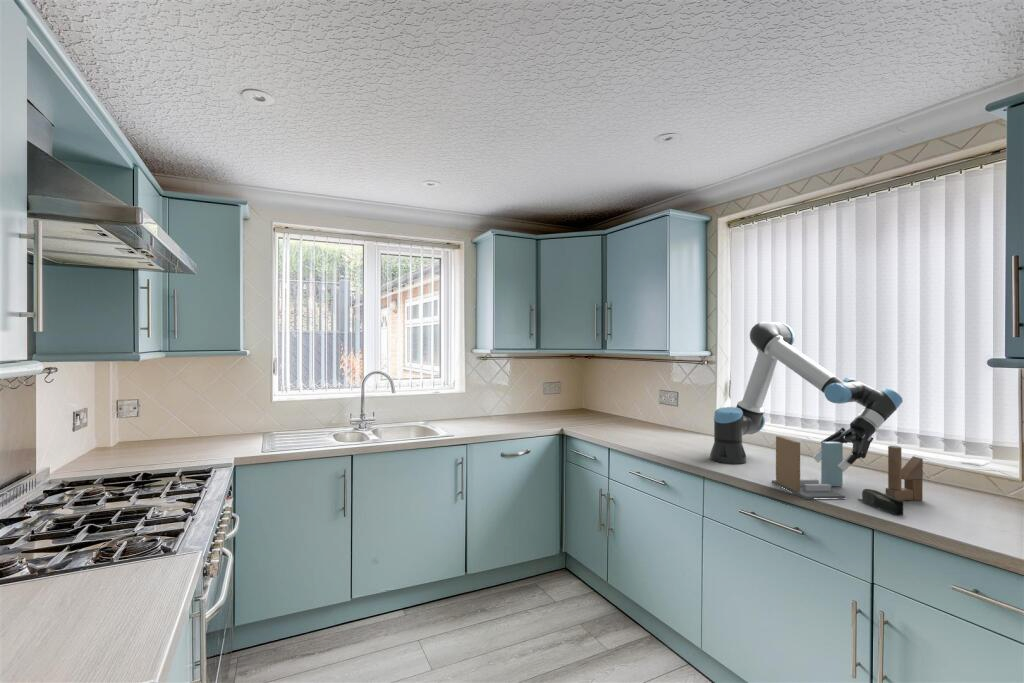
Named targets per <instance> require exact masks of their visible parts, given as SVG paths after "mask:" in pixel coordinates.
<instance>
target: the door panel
mask: <svg viewBox="0 0 1024 683" xmlns="http://www.w3.org/2000/svg"><path fill="white" fill-rule="evenodd" d="M820 443H821V447H820V448H821V461H820V463H821V464H820V465H821V466H820V467H821V468H820V469H821V472H820V473H821V476H820V477H821V478H820V480H821V483H820V484H829V485H831V486H843V480H844V479H843V476H844V473H843V472H844V471H842V470H841V469H840V468H839V467H838V465H839V464H840V463H841V462H842V461H843V460H844V459H843V457H844V455H843V454H844V453H843V448H844V447H843V446H844V445H843V444H844V443H840V442H821V441H820Z"/></svg>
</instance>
